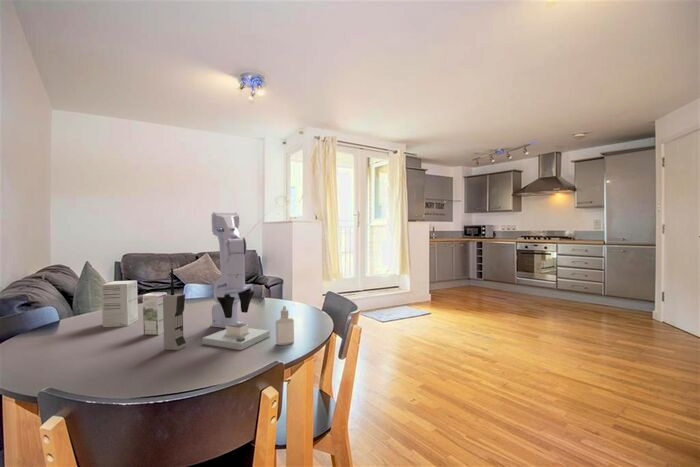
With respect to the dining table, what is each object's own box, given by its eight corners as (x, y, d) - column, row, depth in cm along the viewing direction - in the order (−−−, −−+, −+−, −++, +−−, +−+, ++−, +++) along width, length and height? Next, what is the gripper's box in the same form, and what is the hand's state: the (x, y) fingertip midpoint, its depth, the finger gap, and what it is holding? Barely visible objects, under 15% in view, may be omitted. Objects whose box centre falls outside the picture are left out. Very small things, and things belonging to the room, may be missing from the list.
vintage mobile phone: (178, 350, 102) (176, 269, 102) (163, 349, 103) (162, 269, 103) (186, 346, 106) (184, 267, 106) (172, 345, 107) (171, 267, 107)
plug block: (226, 341, 110) (225, 325, 110) (234, 337, 114) (234, 322, 114) (240, 343, 108) (239, 327, 108) (248, 339, 112) (248, 323, 112)
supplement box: (114, 321, 139) (113, 280, 139) (138, 319, 140) (137, 280, 140) (101, 327, 129) (100, 284, 129) (127, 326, 131) (127, 283, 131)
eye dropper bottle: (292, 345, 105) (291, 307, 105) (274, 345, 105) (273, 307, 105) (295, 340, 109) (294, 304, 109) (278, 340, 109) (277, 304, 109)
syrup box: (168, 330, 124) (167, 291, 123) (157, 335, 118) (156, 294, 118) (154, 330, 124) (153, 291, 124) (142, 335, 118) (141, 294, 118)
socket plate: (202, 343, 108) (202, 335, 108) (233, 331, 121) (233, 324, 121) (241, 350, 102) (241, 340, 101) (269, 336, 114) (269, 328, 114)
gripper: (229, 277, 103) (230, 321, 103) (259, 272, 116) (260, 310, 116) (212, 276, 106) (212, 319, 106) (243, 271, 119) (244, 309, 119)
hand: (236, 314), depth 111 cm, fingers open, 7 cm apart
